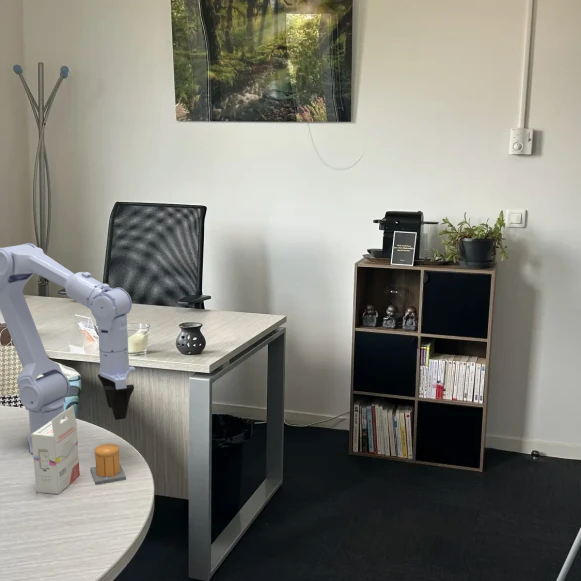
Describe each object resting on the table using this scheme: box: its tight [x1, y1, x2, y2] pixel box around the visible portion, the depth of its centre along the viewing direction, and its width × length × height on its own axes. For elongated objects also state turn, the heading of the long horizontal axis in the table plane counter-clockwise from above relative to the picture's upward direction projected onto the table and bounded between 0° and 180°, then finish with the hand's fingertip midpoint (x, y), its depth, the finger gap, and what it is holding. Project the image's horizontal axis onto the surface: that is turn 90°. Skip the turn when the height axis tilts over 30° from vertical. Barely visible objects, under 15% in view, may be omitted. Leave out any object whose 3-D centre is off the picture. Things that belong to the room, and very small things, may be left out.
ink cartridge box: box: [30, 405, 80, 495], centre depth 140 cm, size 9×5×15 cm, turn 168°
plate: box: [90, 464, 127, 485], centre depth 145 cm, size 7×6×3 cm
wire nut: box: [94, 443, 121, 477], centre depth 144 cm, size 5×5×5 cm
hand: (117, 412), depth 151 cm, fingers open, 7 cm apart
